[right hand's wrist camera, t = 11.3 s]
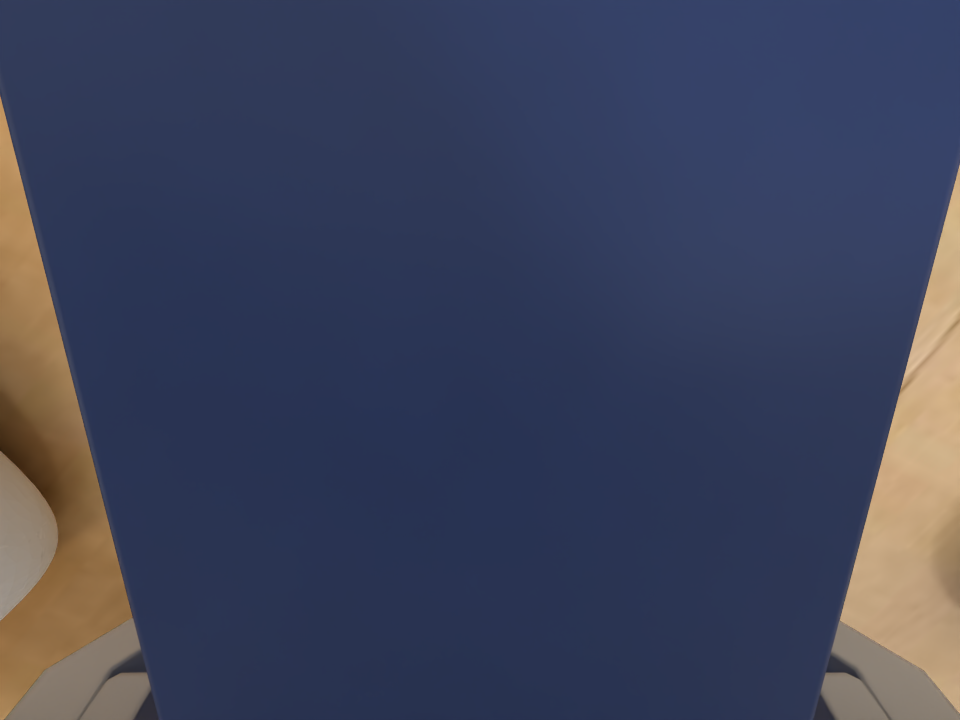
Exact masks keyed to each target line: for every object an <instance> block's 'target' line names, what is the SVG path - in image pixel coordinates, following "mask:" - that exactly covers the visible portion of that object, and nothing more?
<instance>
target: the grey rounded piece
mask: <svg viewBox="0 0 960 720" xmlns="http://www.w3.org/2000/svg"><path fill="white" fill-rule="evenodd" d="M57 544H58V528H57V523H56V519H55V516H54V514H53V512H52V510H51V508H50V506H49V505H48V503H47V501H46V500H45V498H44V497H43V496H42V494H41V493H40V492H39V490H38V489H37V488H36V487H35V485H34V484H33V483H32V482H31V481H30V480H29V479H28V478H27V477H26V476H25V475H24V474H23V472H22V471H21V470H20V469H19V468H18V467H17V466H16V465H15V464H14V463H13V462H12V461H11V460H9V459H8V458H7V457H6V456H5V455H4V454H3V453H2V452H1V451H0V621H1V620H2V619H3V618H4V617H5V616H6V615H7V614H8V613H9V612H10V611H11V610H12V609H13V608H14V607H15V606H16V605H17V604H18V603H19V602H20V601H21V600H22V599H23V598H24V597H25V596H26V595H27V594H28V593H29V592H30V591H31V589H32V588H33V587H34V586H35V585H36V584H37V583H38V581H39V580H40V579H41V577H42V576H43V575H44V573H45V572H46V570H47V568H48V567H49V565H50V563H51V561H52V559H53V558H54V555H55V552H56V549H57Z"/></svg>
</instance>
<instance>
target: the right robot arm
mask: <svg viewBox="0 0 960 720" xmlns="http://www.w3.org/2000/svg"><path fill="white" fill-rule="evenodd" d="M4 720H159V718H158V714H157V711H156V707H155V703H154V699H153V695H152V691H151V687H150V683H149V679H148V675H147V671H146V667H145V663H144V659H143V655H142V651H141V647H140V644H139V640H138V636H137V632H136V628H135V624H134V620H133V617H132V618H131V619H129V620H127V621H126V622H124V623H122V624H121V625H119V626H117V627H116V628H114V629H112V630H111V631H109V632H107V633H106V634H104V635H102V636H101V637H99V638H97V639H96V640H94V641H92V642H91V643H89V644H87V645H86V646H84V647H82V648H81V649H79V650H77V651H76V652H74V653H72V654H71V655H69V656H67V657H66V658H64V659H62V660H61V661H59V662H57V663H56V664H54V665H52V666H51V667H49V668H47V669H45V670H44V672H43V673H42V674H41V675H40V676H39V678H38V679H37V680H36V681H35V683H34V684H33V685H32V686H31V687H30V689H29V690H28V691H27V692H26V694H25V695H24V696H23V697H22V698H21V700H20V701H19V702H18V703H17V705H16V706H15V707H14V708H13V710H12V711H11V712H10V713H9V714H8V716H7V717H6V718H5V719H4ZM813 720H960V714H959V712H958V711H957V710H956V709H955V708H954V706H953V705H952V704H951V703H950V702H949V700H948V699H947V698H946V697H945V696H944V694H943V693H942V692H941V691H940V689H939V688H938V687H937V686H936V685H935V683H934V682H933V681H932V680H931V679H930V677H929V676H928V675H927V674H926V672H925V671H924V670H922V669H920V668H918V667H917V666H915V665H913V664H912V663H910V662H908V661H907V660H905V659H903V658H902V657H900V656H898V655H897V654H895V653H893V652H892V651H890V650H888V649H887V648H885V647H883V646H881V645H880V644H878V643H876V642H875V641H873V640H871V639H870V638H868V637H866V636H865V635H863V634H861V633H860V632H858V631H856V630H855V629H853V628H851V627H850V626H848V625H846V624H844V623H843V622H841V621H839V624H838V628H837V632H836V635H835V639H834V643H833V647H832V651H831V654H830V658H829V662H828V666H827V670H826V673H825V677H824V681H823V685H822V689H821V692H820V696H819V700H818V704H817V708H816V711H815V715H814V719H813Z"/></svg>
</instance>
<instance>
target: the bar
mask: <svg viewBox="0 0 960 720" xmlns="http://www.w3.org/2000/svg"><path fill="white" fill-rule="evenodd" d="M0 96H1V100H2V104H3V108H4V112H5V116H6V119H7V123H8V127H9V131H10V135H11V139H12V143H13V147H14V151H15V155H16V159H17V163H18V167H19V171H20V175H21V179H22V182H23V186H24V190H25V194H26V198H27V202H28V206H29V210H30V214H31V218H32V222H33V226H34V230H35V234H36V238H37V242H38V246H39V249H40V253H41V257H42V261H43V265H44V269H45V273H46V277H47V281H48V285H49V289H50V293H51V297H52V301H53V305H54V309H55V313H56V316H57V320H58V324H59V328H60V332H61V336H62V340H63V344H64V348H65V352H66V356H67V360H68V364H69V368H70V372H71V376H72V380H73V383H74V387H75V391H76V395H77V399H78V403H79V407H80V411H81V415H82V419H83V423H84V427H85V431H86V435H87V439H88V443H89V447H90V450H91V454H92V458H93V462H94V466H95V470H96V474H97V478H98V482H99V486H100V490H101V494H102V498H103V502H104V506H105V510H106V514H107V517H108V521H109V525H110V529H111V533H112V537H113V541H114V545H115V549H116V553H117V557H118V561H119V565H120V569H121V573H122V577H123V580H124V584H125V588H126V592H127V596H128V600H129V604H130V608H131V612H132V616H133V620H134V624H135V628H136V632H137V636H138V640H139V644H140V647H141V651H142V655H143V659H144V663H145V667H146V671H147V675H148V679H149V683H150V687H151V691H152V695H153V699H154V703H155V707H156V711H157V714H158V718H159V720H813V719H814V715H815V711H816V708H817V704H818V700H819V696H820V692H821V689H822V685H823V681H824V677H825V673H826V670H827V666H828V662H829V658H830V654H831V651H832V647H833V643H834V639H835V635H836V632H837V628H838V624H839V620H840V616H841V613H842V609H843V605H844V601H845V597H846V594H847V590H848V586H849V582H850V578H851V575H852V571H853V567H854V563H855V559H856V556H857V552H858V548H859V544H860V540H861V537H862V533H863V529H864V525H865V521H866V518H867V514H868V510H869V506H870V502H871V499H872V495H873V491H874V487H875V483H876V480H877V476H878V472H879V468H880V465H881V461H882V457H883V453H884V449H885V446H886V442H887V438H888V434H889V430H890V427H891V423H892V419H893V415H894V411H895V408H896V404H897V400H898V396H899V392H900V389H901V385H902V381H903V377H904V373H905V370H906V366H907V362H908V358H909V354H910V351H911V347H912V343H913V339H914V335H915V332H916V328H917V324H918V320H919V316H920V313H921V309H922V305H923V301H924V297H925V294H926V290H927V286H928V282H929V278H930V275H931V271H932V267H933V263H934V259H935V256H936V252H937V248H938V244H939V240H940V237H941V233H942V229H943V225H944V221H945V218H946V214H947V210H948V206H949V203H950V199H951V195H952V191H953V187H954V184H955V180H956V176H957V172H958V168H959V165H960V0H0Z"/></svg>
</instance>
